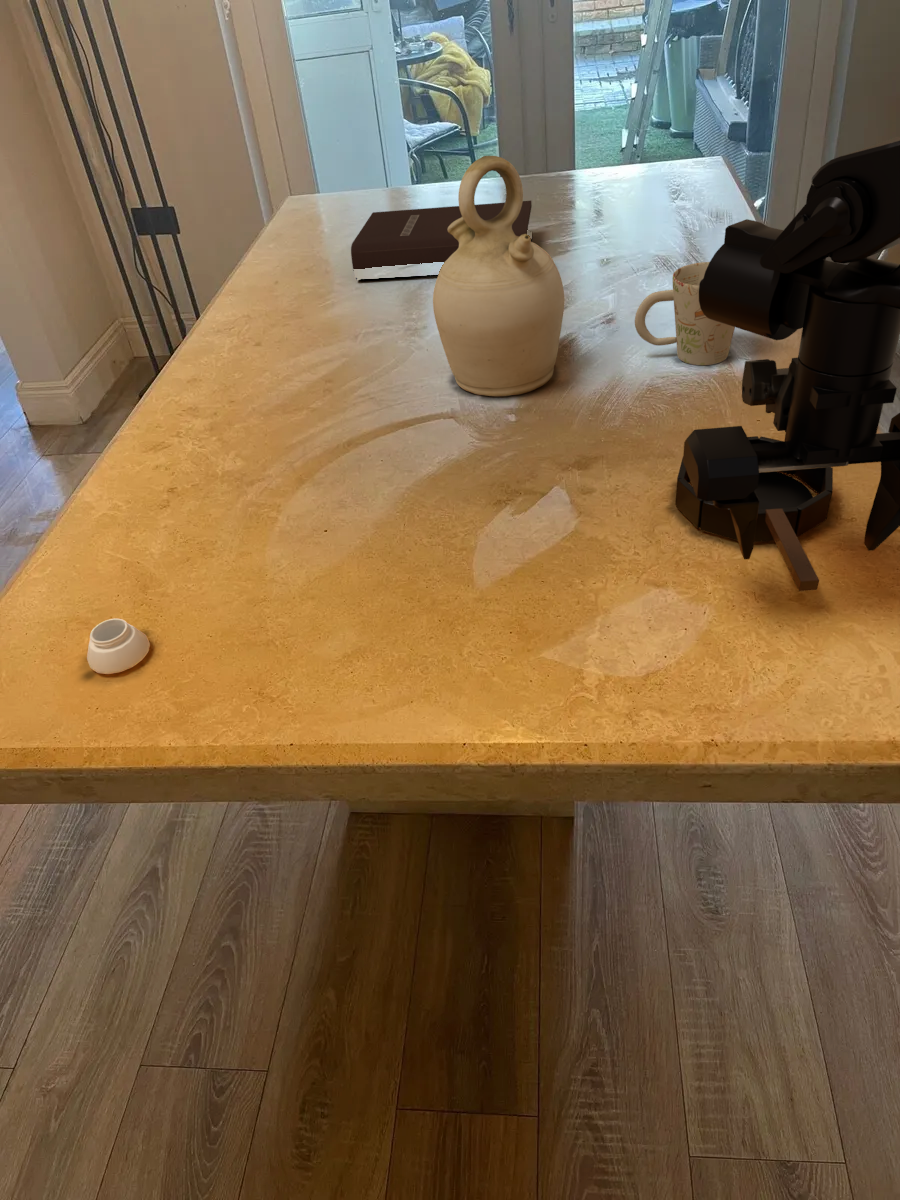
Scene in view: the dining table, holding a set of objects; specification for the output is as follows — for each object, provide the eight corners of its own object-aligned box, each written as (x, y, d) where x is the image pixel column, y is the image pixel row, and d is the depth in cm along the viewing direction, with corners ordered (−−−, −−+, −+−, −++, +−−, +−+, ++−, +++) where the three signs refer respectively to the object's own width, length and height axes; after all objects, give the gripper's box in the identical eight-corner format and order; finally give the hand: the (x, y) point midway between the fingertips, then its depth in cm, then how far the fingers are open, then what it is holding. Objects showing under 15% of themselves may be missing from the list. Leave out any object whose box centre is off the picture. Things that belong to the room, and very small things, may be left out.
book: (355, 284, 139) (349, 247, 135) (377, 246, 154) (372, 212, 150) (526, 274, 134) (525, 235, 131) (532, 236, 149) (531, 200, 145)
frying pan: (663, 472, 85) (665, 441, 83) (804, 461, 84) (809, 429, 82) (713, 621, 67) (717, 586, 65) (893, 609, 66) (903, 574, 64)
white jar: (142, 628, 74) (85, 652, 72) (131, 602, 72) (72, 626, 70) (157, 660, 70) (97, 686, 69) (146, 634, 69) (84, 659, 67)
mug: (745, 366, 101) (755, 282, 95) (638, 375, 102) (642, 293, 96) (729, 339, 108) (737, 258, 101) (629, 348, 109) (631, 268, 102)
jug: (430, 365, 111) (403, 154, 95) (542, 342, 113) (534, 132, 97) (459, 414, 99) (434, 184, 84) (584, 388, 101) (583, 158, 85)
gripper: (941, 299, 61) (892, 486, 70) (676, 324, 62) (664, 504, 72) (1019, 364, 52) (951, 567, 62) (709, 391, 53) (690, 585, 63)
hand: (806, 551), depth 65 cm, fingers open, 9 cm apart
